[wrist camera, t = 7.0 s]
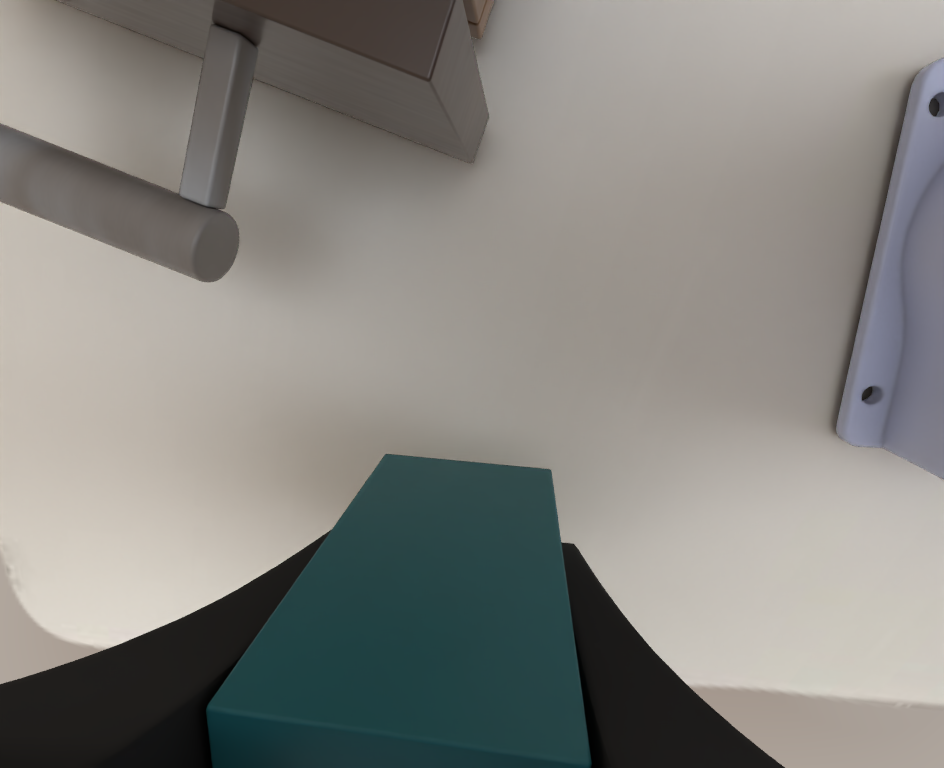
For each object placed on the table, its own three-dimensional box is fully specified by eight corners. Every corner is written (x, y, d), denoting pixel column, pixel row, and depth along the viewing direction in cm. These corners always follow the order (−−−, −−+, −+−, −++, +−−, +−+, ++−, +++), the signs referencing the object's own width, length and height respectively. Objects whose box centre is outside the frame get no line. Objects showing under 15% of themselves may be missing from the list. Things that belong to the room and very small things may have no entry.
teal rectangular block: (534, 625, 12) (549, 1041, 6) (383, 606, 13) (234, 979, 6) (551, 468, 11) (592, 765, 5) (385, 452, 11) (203, 708, 5)
